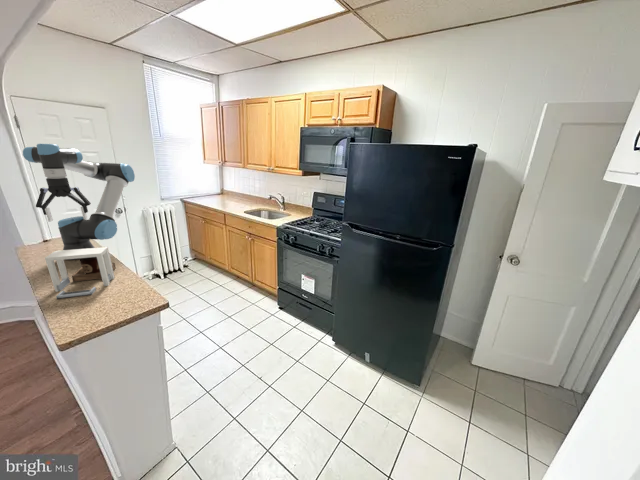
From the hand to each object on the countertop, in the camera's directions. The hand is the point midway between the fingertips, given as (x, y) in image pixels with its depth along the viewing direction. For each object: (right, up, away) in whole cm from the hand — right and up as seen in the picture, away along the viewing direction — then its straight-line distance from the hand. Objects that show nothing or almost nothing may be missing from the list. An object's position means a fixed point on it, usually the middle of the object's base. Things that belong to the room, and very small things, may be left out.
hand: (68, 219), depth 133 cm
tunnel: (+17, -31, -8) cm, 37 cm away
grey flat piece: (+21, -34, -17) cm, 44 cm away
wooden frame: (+12, -27, +4) cm, 30 cm away
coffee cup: (+14, -29, -1) cm, 32 cm away
